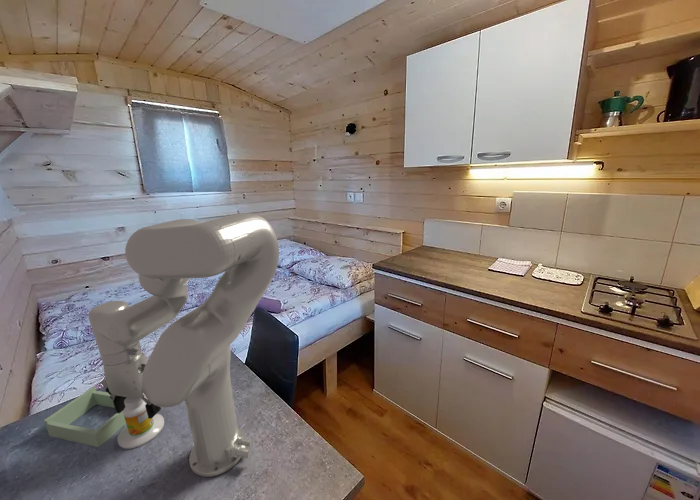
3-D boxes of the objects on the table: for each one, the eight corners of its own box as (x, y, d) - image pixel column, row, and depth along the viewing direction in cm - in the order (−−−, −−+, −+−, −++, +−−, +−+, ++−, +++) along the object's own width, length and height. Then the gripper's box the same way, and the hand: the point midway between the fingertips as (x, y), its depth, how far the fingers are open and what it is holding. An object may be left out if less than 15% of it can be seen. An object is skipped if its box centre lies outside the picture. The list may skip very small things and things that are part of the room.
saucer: (173, 418, 81) (172, 416, 81) (141, 452, 72) (140, 449, 72) (142, 413, 84) (142, 410, 83) (107, 444, 74) (107, 442, 74)
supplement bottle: (124, 433, 76) (115, 401, 74) (146, 417, 81) (139, 387, 78) (136, 441, 74) (127, 409, 71) (158, 425, 79) (151, 394, 76)
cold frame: (141, 409, 85) (137, 395, 83) (99, 447, 74) (93, 431, 72) (96, 401, 88) (92, 387, 87) (49, 436, 77) (43, 420, 76)
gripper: (164, 346, 73) (179, 404, 77) (108, 341, 77) (125, 396, 81) (137, 365, 66) (155, 428, 70) (76, 358, 70) (97, 418, 74)
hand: (139, 411), depth 76 cm, fingers open, 9 cm apart
